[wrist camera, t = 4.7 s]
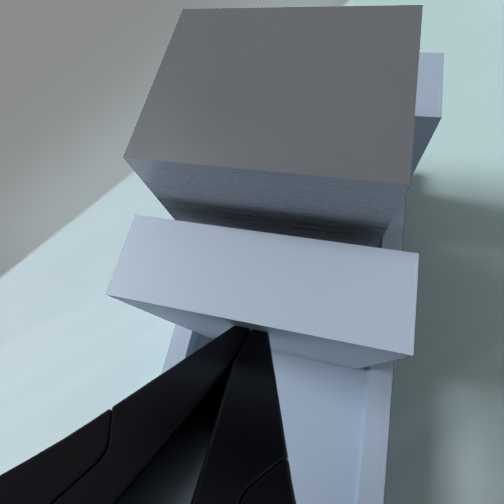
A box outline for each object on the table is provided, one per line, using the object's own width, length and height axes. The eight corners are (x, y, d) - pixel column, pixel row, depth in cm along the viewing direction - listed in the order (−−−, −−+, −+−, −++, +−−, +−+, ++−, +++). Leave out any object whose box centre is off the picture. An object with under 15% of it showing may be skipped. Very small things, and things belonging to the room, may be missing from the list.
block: (344, 310, 14) (410, 184, 5) (234, 290, 15) (123, 157, 6) (355, 226, 16) (422, 5, 6) (252, 213, 17) (183, 9, 7)
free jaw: (355, 369, 13) (413, 356, 6) (206, 336, 15) (105, 294, 7) (361, 312, 14) (419, 239, 7) (219, 287, 16) (138, 203, 8)
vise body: (367, 565, 12) (450, 825, 5) (147, 490, 14) (-17, 602, 7) (400, 171, 18) (462, 30, 10) (237, 157, 20) (196, 30, 12)
